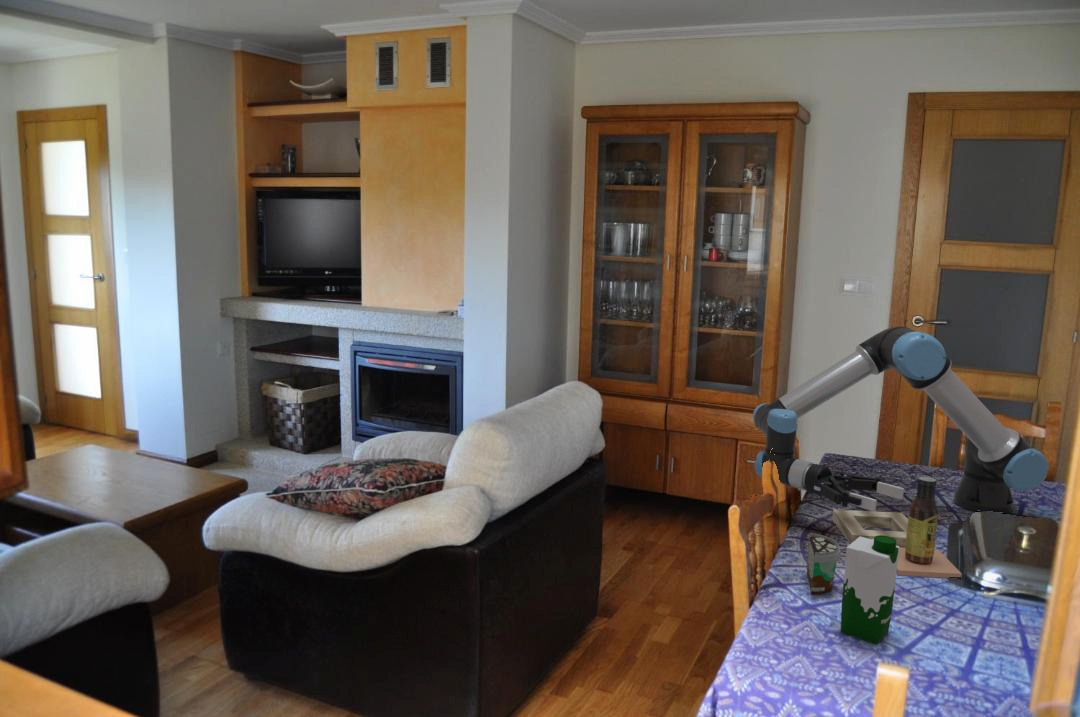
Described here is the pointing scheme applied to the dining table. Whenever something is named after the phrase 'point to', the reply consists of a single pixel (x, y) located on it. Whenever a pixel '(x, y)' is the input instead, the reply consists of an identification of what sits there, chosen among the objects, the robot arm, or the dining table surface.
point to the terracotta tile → (927, 566)
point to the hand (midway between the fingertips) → (889, 499)
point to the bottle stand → (871, 524)
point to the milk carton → (869, 587)
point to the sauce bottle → (922, 523)
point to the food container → (821, 563)
